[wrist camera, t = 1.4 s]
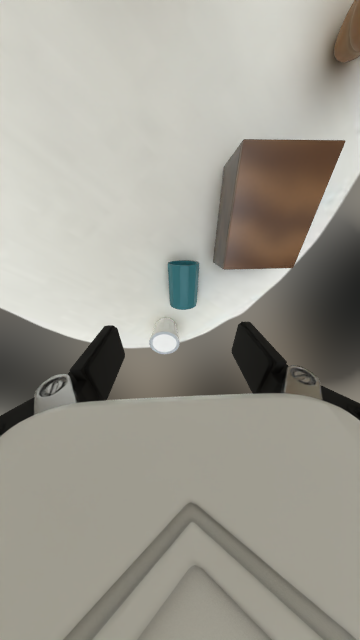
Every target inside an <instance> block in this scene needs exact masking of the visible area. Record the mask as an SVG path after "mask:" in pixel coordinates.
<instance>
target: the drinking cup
mask: <svg viewBox="0 0 360 640" xmlns="http://www.w3.org/2000/svg"><path fill="white" fill-rule="evenodd" d="M198 273H199V263H198V262H196V261H172V262H168V275H169V294H170V305H171V306H172V307H173V308H175V309H181V310H186V309H191V308H193V307H195V306H196V302H197V290H198V276H199V275H198Z"/></svg>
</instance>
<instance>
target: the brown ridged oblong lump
mask: <svg viewBox="0 0 360 640" xmlns="http://www.w3.org/2000/svg"><path fill="white" fill-rule="evenodd" d="M334 55H335V58H336V59H337V60H338V61H339V62H348V61H351V60H353V59H355V58H357V57H359V56H360V0H355V1H354V3H353V4H352V6H351V8H350V10H349V11H348V13H347V15H346V17H345V19H344V21H343V24H342V26H341V28H340V31H339V34H338V36H337V39H336V43H335V47H334Z"/></svg>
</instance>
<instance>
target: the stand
mask: <svg viewBox="0 0 360 640" xmlns="http://www.w3.org/2000/svg"><path fill="white" fill-rule="evenodd" d="M344 143H345V141H342V140H254V139H244V140H243V141H242V143H241V144H240V145H239V147H238V148H237V150H236V151H235V152H234V154H233V155H232V156H231V158H230V159H229V160H228V162H227V163H226V165H225V166H224V171H223V179H222V188H221V197H220V206H219V215H218V224H217V233H216V242H215V251H214V260H213V263H215V264H216V265H218V266H219V267H221V268H223V269H267V268H293V267H294V264H295V262H296V260H297V257H298V255H299V252H300V250H301V247H302V245H303V243H304V240H305V238H306V235H307V233H308V231H309V228H310V226H311V223H312V221H313V218H314V216H315V214H316V211H317V209H318V206H319V204H320V201H321V199H322V197H323V194H324V192H325V189H326V187H327V185H328V182H329V180H330V177H331V175H332V172H333V170H334V168H335V165H336V163H337V160H338V158H339V156H340V153H341V151H342V148H343V146H344Z"/></svg>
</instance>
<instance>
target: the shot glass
mask: <svg viewBox="0 0 360 640" xmlns="http://www.w3.org/2000/svg"><path fill="white" fill-rule="evenodd" d="M179 343H180V342H179V337H178V332H177V327H176V323H175V322H174V321H173V320H172V319H170V318H161V319H159V320H158V321H157V323H156V325H155V327H154V330H153V333H152V335H151V338H150V346H151V348H152V349H153V350H154V351H155V352H157V353H160V354H169V353H172V352H174V351H176V350H177V348H178V347H179Z"/></svg>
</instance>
